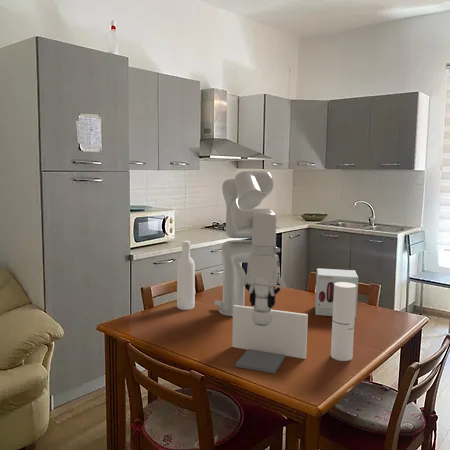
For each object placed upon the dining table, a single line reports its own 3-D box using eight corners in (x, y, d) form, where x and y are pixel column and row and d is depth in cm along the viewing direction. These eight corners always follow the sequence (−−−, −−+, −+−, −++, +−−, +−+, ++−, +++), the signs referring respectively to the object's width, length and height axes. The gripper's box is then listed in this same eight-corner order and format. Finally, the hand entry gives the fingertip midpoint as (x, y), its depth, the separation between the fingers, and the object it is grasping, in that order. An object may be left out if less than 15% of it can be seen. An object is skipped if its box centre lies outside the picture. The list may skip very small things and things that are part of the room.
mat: (235, 366, 151) (235, 363, 151) (248, 351, 163) (248, 348, 163) (274, 373, 146) (274, 370, 146) (285, 357, 158) (285, 354, 158)
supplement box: (315, 315, 203) (317, 274, 200) (314, 306, 216) (316, 267, 213) (357, 318, 200) (359, 276, 197) (353, 308, 213) (355, 269, 210)
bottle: (198, 306, 213) (198, 241, 209) (187, 311, 206) (187, 243, 202) (184, 303, 217) (184, 239, 213) (173, 307, 210) (173, 241, 206)
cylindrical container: (328, 352, 163) (331, 282, 160) (348, 352, 164) (351, 281, 161) (334, 361, 156) (338, 287, 153) (355, 360, 157) (359, 287, 154)
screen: (232, 346, 167) (233, 305, 165) (233, 345, 168) (234, 304, 166) (305, 358, 158) (306, 315, 156) (306, 357, 159) (307, 314, 157)
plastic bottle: (250, 327, 150) (252, 265, 148) (253, 320, 157) (255, 261, 154) (270, 329, 149) (272, 267, 146) (272, 322, 156) (274, 262, 153)
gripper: (292, 250, 150) (291, 305, 153) (242, 246, 156) (241, 299, 159) (287, 254, 143) (285, 312, 146) (234, 250, 149) (233, 305, 152)
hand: (262, 305), depth 152 cm, fingers closed on plastic bottle, 5 cm apart
